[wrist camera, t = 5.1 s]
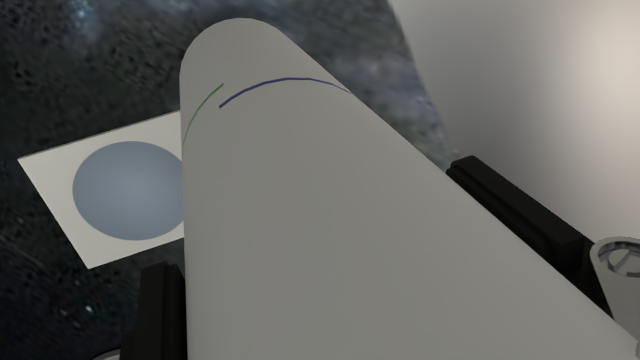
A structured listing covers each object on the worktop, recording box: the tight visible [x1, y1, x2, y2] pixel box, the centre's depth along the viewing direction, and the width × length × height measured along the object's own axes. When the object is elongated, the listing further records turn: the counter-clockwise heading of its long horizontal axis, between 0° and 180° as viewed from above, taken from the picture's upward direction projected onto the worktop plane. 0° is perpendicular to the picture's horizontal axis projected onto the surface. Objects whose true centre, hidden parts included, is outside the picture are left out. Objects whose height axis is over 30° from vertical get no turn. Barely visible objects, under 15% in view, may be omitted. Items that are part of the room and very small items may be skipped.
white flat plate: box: [18, 110, 184, 269], centre depth 41 cm, size 12×14×1 cm
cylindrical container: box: [179, 18, 639, 360], centre depth 16 cm, size 7×7×25 cm
